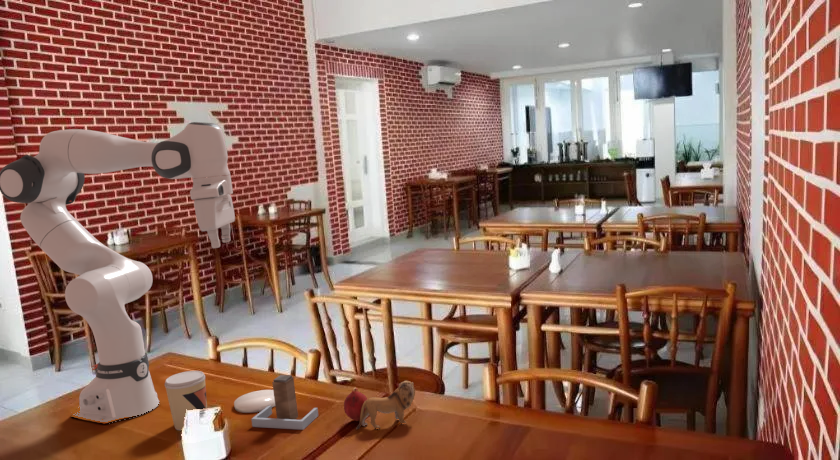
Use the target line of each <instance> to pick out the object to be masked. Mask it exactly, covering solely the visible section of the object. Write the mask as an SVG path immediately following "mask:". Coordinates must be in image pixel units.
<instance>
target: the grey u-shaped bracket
mask: <svg viewBox="0 0 840 460" xmlns="http://www.w3.org/2000/svg"><path fill="white" fill-rule="evenodd" d="M272 414H273V410H272V408H271V406H267V407H266V408H265V409H263V410H262V411H260V412H259V413H258V412H257V414H255V415H254V416H253V417H252V418H251V419H250V420H251V426H252V428H268V429H285V430H299V431H301V430H305V429H306V428H307V427H308V426H309V425H310V424H311V423H312V422H314V420H315V419H316V418H317V417H319V409H318V407H313V408H312V409H311V410H310V411H309V412H308V413H307V414H306V415H305V416H304V417H302V418H301V419H297V418H296V419H277V417H276V418H275V417H274V418H272V417H270V416H272Z"/></svg>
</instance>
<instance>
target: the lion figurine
mask: <svg viewBox="0 0 840 460" xmlns="http://www.w3.org/2000/svg"><path fill="white" fill-rule="evenodd" d="M415 394H416V389H415V387H414V382H413V381H412V382H411V381H409V380H404V381H403V380H402V382H400V383H399V384H398V387H397V388H396V389H395V390H394V391H393V392H392V393H391V394H390V395H389V396H385V397H375V396H374V397H370V398H367V400H366V401H365V402H364V403H363V406H362V409H361V415H360V421H358V422H359V423H358V425H357V426H356V428H355V429H356V430H359V429H361V426H362V427H366V426H365V425H367V426H368V422H366V419H367V418H368V417H370V424H371V425H372V427H373V428H374V429H375V428H380V429H381V426H380V425H377V424H376V418H377V415H378V412H380V413H382V414H391V413H394V418H396V419H399V422H400V424H401V423H406V424H407V421H406V420H404V417H405V411H406V410H407V409H409V408H410V407H411V406H412V402H413V401H414V400H415V396H416V395H415ZM365 408H366V409H365ZM364 409H365V412H364ZM363 413H364V414H363ZM396 419H395V420H396Z"/></svg>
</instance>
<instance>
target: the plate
mask: <svg viewBox="0 0 840 460" xmlns="http://www.w3.org/2000/svg"><path fill="white" fill-rule="evenodd" d="M233 405H234V409H235V411H237V412H239V413H244V414H245V413H246V414H248V413H250V414H251V413H258V412H259V413H260V412H261V411H262V410H263V409H265V408H266V407H267V406H271V408H276V407H275V399H274V391H273V389H261V390H256V391H255V390H254V391H251V392H248V393H245V394H242V395H240V396H238V397H237V398H236V399H235V400H234V401H233Z"/></svg>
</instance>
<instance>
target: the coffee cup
mask: <svg viewBox="0 0 840 460" xmlns="http://www.w3.org/2000/svg"><path fill="white" fill-rule="evenodd" d="M206 386H207V385H206V375H205V373H204V372H203V371H200V370H187V371H183V372H179V373H175V374H172V375H170V376H168V377H167V378H166V379H165V382H164V387H165V391H166V394H167V395H166V396H167V400H168V404H169V408H170V414H171V417H172V422H173V426H174V428H175V430H176V431H181V429H182V427H183V421H184V417H185V413H186V409H187V410H193V409H203V408H207V409H208V402H207V401H208V400H207V387H206Z"/></svg>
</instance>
